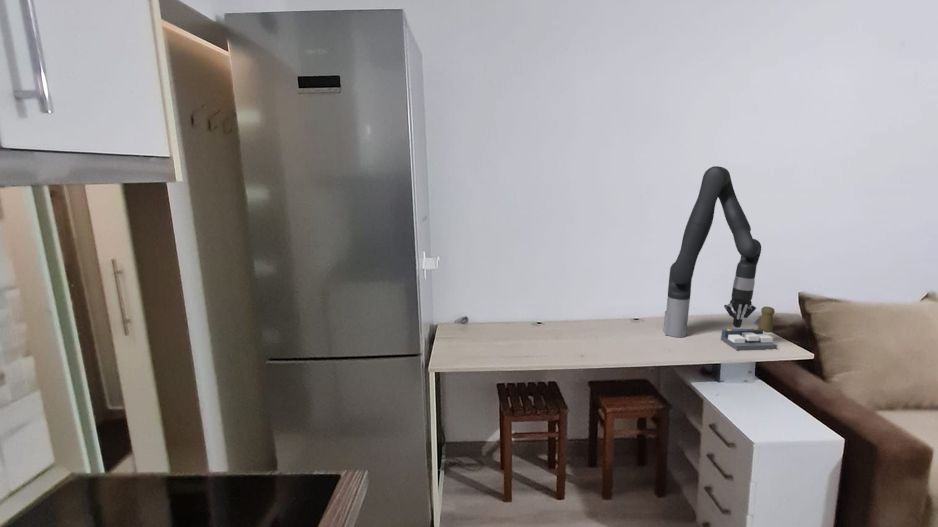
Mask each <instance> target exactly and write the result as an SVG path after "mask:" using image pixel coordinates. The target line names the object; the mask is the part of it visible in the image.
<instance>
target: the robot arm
mask: <svg viewBox="0 0 938 527" xmlns="http://www.w3.org/2000/svg"><path fill="white" fill-rule="evenodd" d="M718 199H719V202H720V204H721V207H722V211H723V214H724V215H723V216H724V217H725V220H726V223H727V225H728V227H729V230H730V231H731V234H732V236H733V240H734V244H735V247H736V250H737V252H738V253H739V255H740V260H739V262H738V263H737V264H736V265H737V266H736V270H735V276H734V278H733V282H732V291H731V300H729V303H728V304H724V305H723V307H724V309H725V310H726V312H727V313H728V316H730V317H731V318H733V321H732V325H733V327H734V328H735V329H741V327H742V323H743V320H744V319H748V318H749V317H750V315H752V314H753V312H754V311H755V310H756V309H757V307H756V306H754V305H753V302H752V299H753V295H754V291H755V290H754V289H755V281H756V280H755V279H756V275H757V274H756V273H757V266H758V263H759V260H760V257H761V253H762V244H761V242H760V241H759V240H758V239H755V238H753V235H752V233H751V230H752V228H751V225H750V223H749V221H748V219H747V216H746V214H745V212H744V210H743V208H742V205H741V204H740V202H739V200H738V197H737V195H736V193H735V189H734V186H733V182H732V178H731V173H730V171H729V170H728V169H727V168H725V167H722V166H719V165H717V166H711V167H709V168H708V169H707V170H706V171H704V173H703V176H702V179H701V184H700V188H699V193H698V196H697V199H696V201H695V204H694V205H693V208H692V210H691V212H690V215H689V217H688V219H687V220H688V221H687V223H686V225H685V228H684V232H683V236H682V239H681V246H680V251H679V253H678V255H677V258H676V260H675V261H674V262H673V263H672V264H671V266H670V267H669V276H668V277H669V278H668V287H667V299H666V310H665V311H664V316H663V317H664V318H663V319H664V321H663V327H662V328H663V329H662V331H663V333H664V335H665V336H669V337H673V338H685V337H686V336H687V332H688V322H689V313H690V312H689V311H690V305H691V304H690V302H691V294H692V293H691V292H692V280H693V276H694V270H695V267H696V264H697V260H698V258H699V255H700V253H701V251H702V249H703V246H704V244H705V242H706V240H707V237H708V235H709V233H710V230H711V227H712V225H713V220H714V216H715V209H716V203H717V200H718Z"/></svg>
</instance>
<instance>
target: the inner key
mask: <svg viewBox="0 0 938 527" xmlns="http://www.w3.org/2000/svg"><path fill="white" fill-rule="evenodd" d="M728 340H730V341H732V342H733V343H745V338H744V337H742V336H740V335H728Z"/></svg>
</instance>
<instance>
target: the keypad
mask: <svg viewBox="0 0 938 527" xmlns="http://www.w3.org/2000/svg"><path fill="white" fill-rule="evenodd" d="M746 332H753V333H755V334H764V332H763V330H762V329H760V328H758V327H755V328H723V329H722V330H721V336H720V341H722V342H723V343H724V344H727V346H730V347H731V348H732V349H733V350H736V351H767V350H766V349H776V350H777V347H778V344H776V343H774V342H773V341H772V342H765V343H762V342H760V341H748V340H746V339H745V343H733V342H732V341H730V340H728V335H740V336H742V333H746Z"/></svg>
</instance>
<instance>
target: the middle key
mask: <svg viewBox="0 0 938 527" xmlns="http://www.w3.org/2000/svg"><path fill="white" fill-rule="evenodd" d="M742 337H744V338H745V339H746V340H748V341H759V336H758V335H756V334H755V333H753V332H746V333H742Z"/></svg>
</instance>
